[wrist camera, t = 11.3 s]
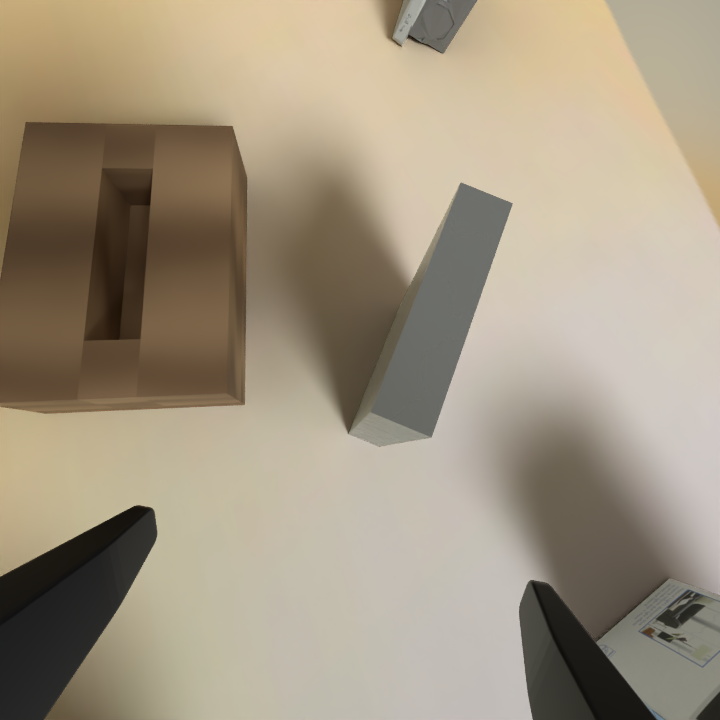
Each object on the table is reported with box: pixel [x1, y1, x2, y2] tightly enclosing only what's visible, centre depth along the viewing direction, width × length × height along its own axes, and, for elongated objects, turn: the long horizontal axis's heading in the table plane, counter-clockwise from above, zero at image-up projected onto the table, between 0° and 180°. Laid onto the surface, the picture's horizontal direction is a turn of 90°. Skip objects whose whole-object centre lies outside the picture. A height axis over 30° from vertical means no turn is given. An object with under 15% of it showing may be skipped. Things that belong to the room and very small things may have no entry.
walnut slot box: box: [0, 122, 247, 414], centre depth 21 cm, size 14×10×4 cm
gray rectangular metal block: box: [349, 183, 513, 447], centre depth 17 cm, size 8×2×11 cm, turn 158°
